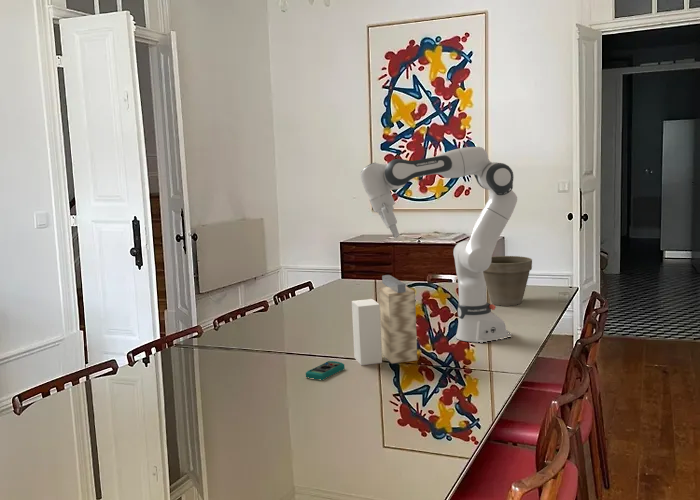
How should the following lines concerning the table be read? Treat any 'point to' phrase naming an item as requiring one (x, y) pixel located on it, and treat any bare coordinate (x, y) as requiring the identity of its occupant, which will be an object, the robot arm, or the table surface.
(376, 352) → the block
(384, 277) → the rod
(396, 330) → the tall stand
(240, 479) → the table surface
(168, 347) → the table surface
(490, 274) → the plant pot
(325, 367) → the digital multimeter
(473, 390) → the table surface
